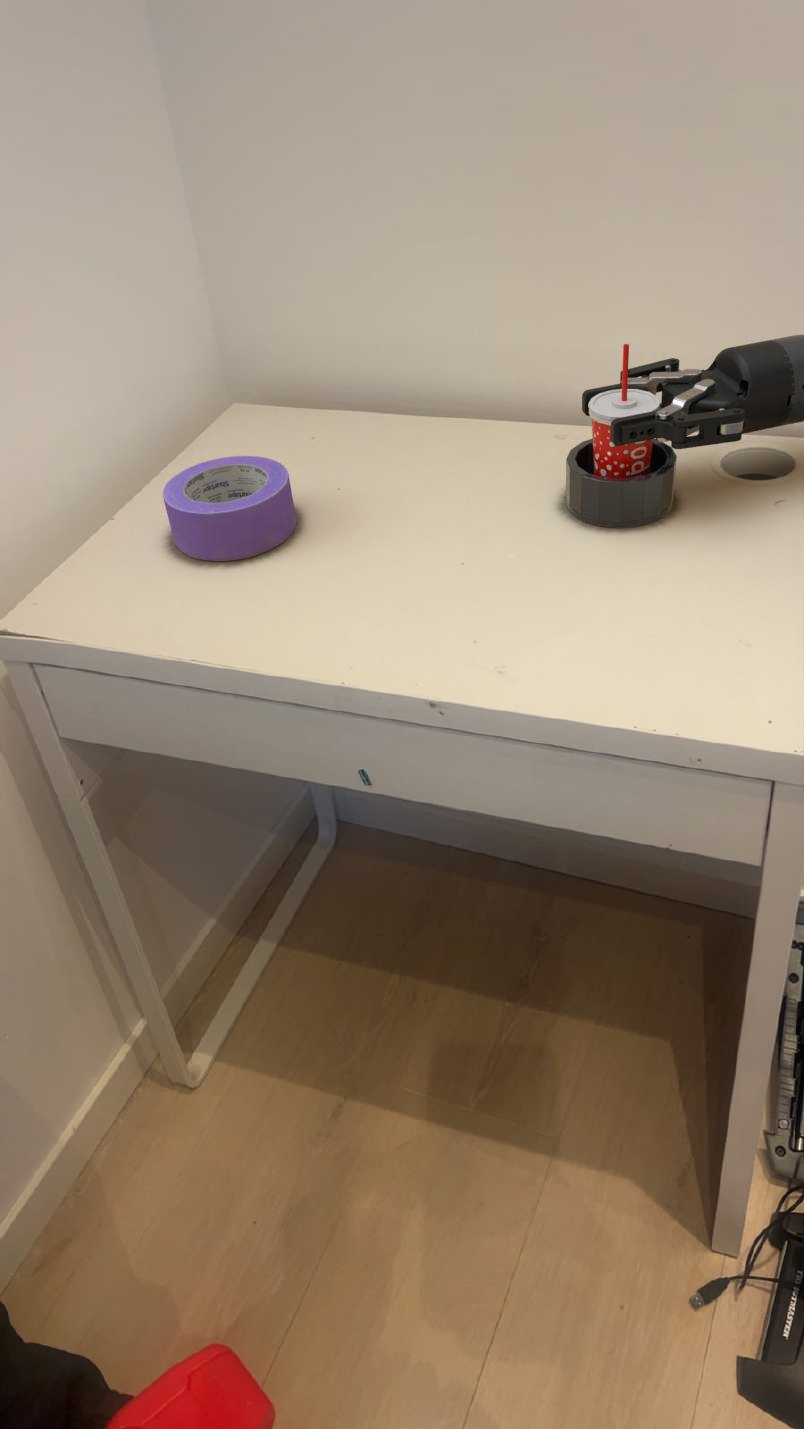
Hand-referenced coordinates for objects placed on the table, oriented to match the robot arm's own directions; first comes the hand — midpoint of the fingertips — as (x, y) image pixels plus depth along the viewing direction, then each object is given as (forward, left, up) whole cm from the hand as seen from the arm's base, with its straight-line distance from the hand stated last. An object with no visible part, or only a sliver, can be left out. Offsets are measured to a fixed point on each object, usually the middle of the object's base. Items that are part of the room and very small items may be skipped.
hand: (598, 418), depth 90 cm
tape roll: (+34, -3, -9) cm, 35 cm away
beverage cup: (-2, 0, -8) cm, 9 cm away
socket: (-2, 0, -9) cm, 9 cm away
